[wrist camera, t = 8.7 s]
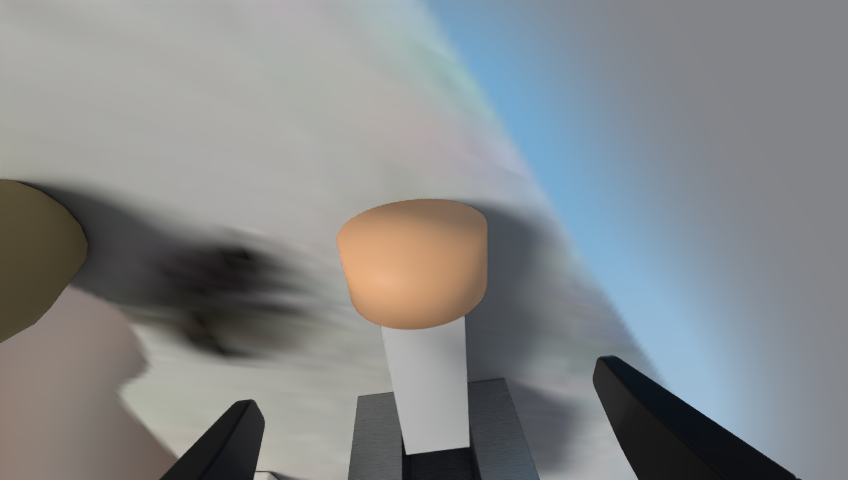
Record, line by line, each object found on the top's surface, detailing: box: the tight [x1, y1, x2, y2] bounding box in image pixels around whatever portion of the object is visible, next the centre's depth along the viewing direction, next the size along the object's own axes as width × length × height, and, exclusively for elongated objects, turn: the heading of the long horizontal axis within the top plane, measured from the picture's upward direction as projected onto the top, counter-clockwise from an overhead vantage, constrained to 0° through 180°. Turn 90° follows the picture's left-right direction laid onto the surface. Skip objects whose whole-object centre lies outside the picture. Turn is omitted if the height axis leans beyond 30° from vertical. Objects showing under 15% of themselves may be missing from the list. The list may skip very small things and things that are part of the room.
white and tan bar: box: [337, 199, 488, 455], centre depth 17 cm, size 14×7×7 cm, turn 5°
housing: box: [348, 379, 540, 480], centre depth 25 cm, size 10×12×8 cm
